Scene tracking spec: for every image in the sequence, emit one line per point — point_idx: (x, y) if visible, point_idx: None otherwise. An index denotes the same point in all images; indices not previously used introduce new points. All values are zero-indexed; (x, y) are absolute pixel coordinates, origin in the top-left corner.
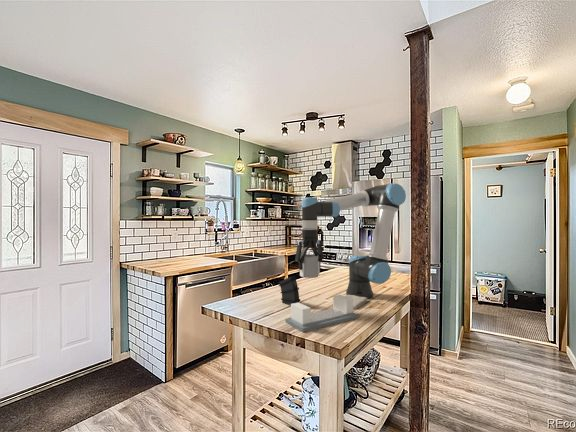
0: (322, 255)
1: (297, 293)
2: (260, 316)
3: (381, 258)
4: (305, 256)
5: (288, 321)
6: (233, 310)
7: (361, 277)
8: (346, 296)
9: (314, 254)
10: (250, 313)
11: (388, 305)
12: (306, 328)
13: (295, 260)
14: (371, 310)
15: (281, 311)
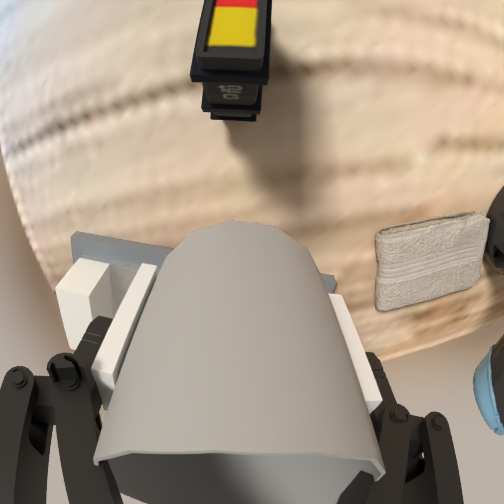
0: (407, 480)
1: (239, 114)
2: (37, 124)
3: None
4: (287, 417)
5: (73, 253)
6: (15, 15)
7: None
8: (458, 236)
9: (364, 491)
10: (30, 73)
11: (450, 333)
12: None
13: (10, 382)
14: (389, 335)
15: (128, 119)
